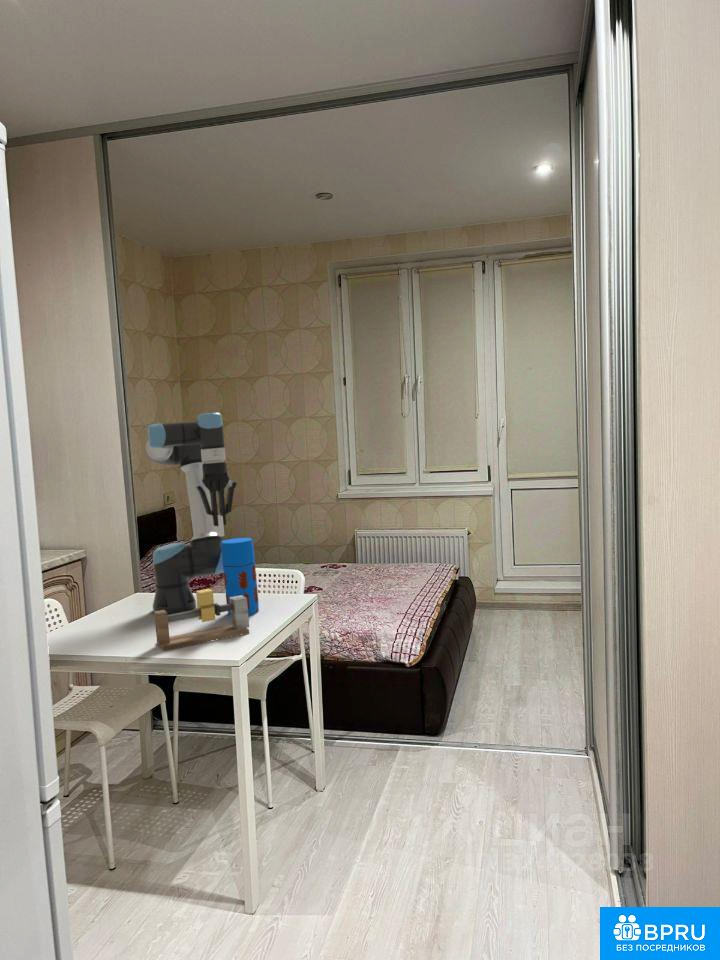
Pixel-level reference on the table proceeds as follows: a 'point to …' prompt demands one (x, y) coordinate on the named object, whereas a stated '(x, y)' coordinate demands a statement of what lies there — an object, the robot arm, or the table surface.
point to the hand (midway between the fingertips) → (221, 535)
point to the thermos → (240, 571)
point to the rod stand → (236, 628)
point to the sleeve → (206, 604)
